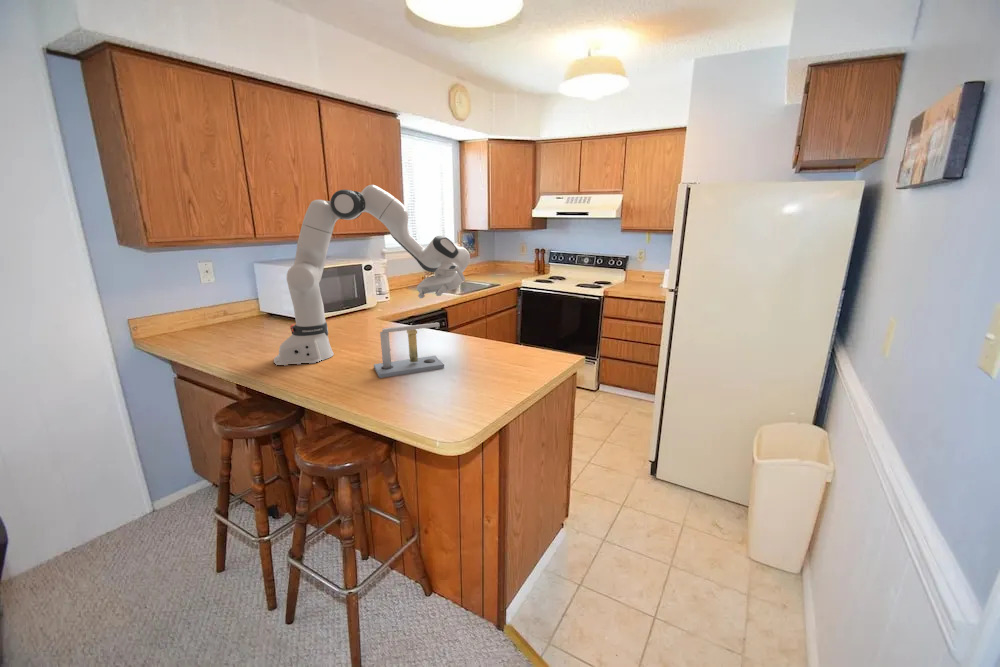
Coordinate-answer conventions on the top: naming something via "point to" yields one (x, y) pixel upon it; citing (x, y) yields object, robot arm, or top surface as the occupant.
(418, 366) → the bolt plate
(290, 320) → the top surface
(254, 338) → the top surface
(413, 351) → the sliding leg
